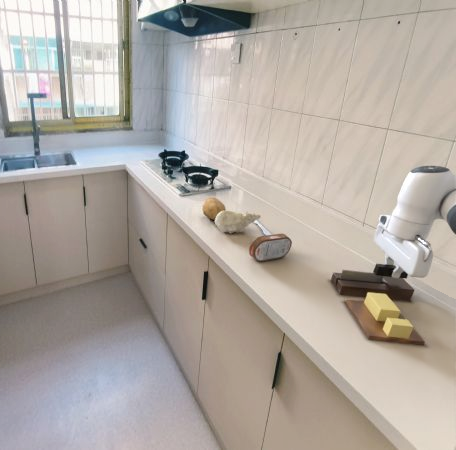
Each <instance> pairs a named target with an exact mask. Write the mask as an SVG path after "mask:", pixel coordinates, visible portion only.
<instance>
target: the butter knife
mask: <svg viewBox="0 0 456 450" xmlns="http://www.w3.org/2000/svg"><path fill="white" fill-rule="evenodd" d="M247 212H248V213H250V214H252V212H249V211H247ZM253 223H254V224H257V226H258V227H259V228H260V229H261V230H262V232H263V234H264V236H265V235H273V233H271V232H270V231H269V230H268V229H266V228H265V227H264V226H263V224H262V223H260V221H258V220H255V221H254V222H253Z"/></svg>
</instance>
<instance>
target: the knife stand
mask: <svg viewBox="0 0 456 450" xmlns="http://www.w3.org/2000/svg"><path fill="white" fill-rule="evenodd" d="M341 273H342V272H336V271H335V272H332V275H331V279H330V282H331V285H333V287H334V288H335V290H336V291H337V294H339V295H340V296H349V297H359V298H361V297H362V298H366V296H367V293H368V292H370V293H380V294H386V295H387V296H388V297H389V298H390V299H391V301H400V302H401V301H403V302H411V300H412V298H413V295H414V293H415V289H414V287H412V286H411V284H410V283H409V282H407V281H406V279H405V278H393V277H386V276H383V279H382V282H381V284H379V283H368V282H357V281H347V280H340V276H341Z"/></svg>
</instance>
